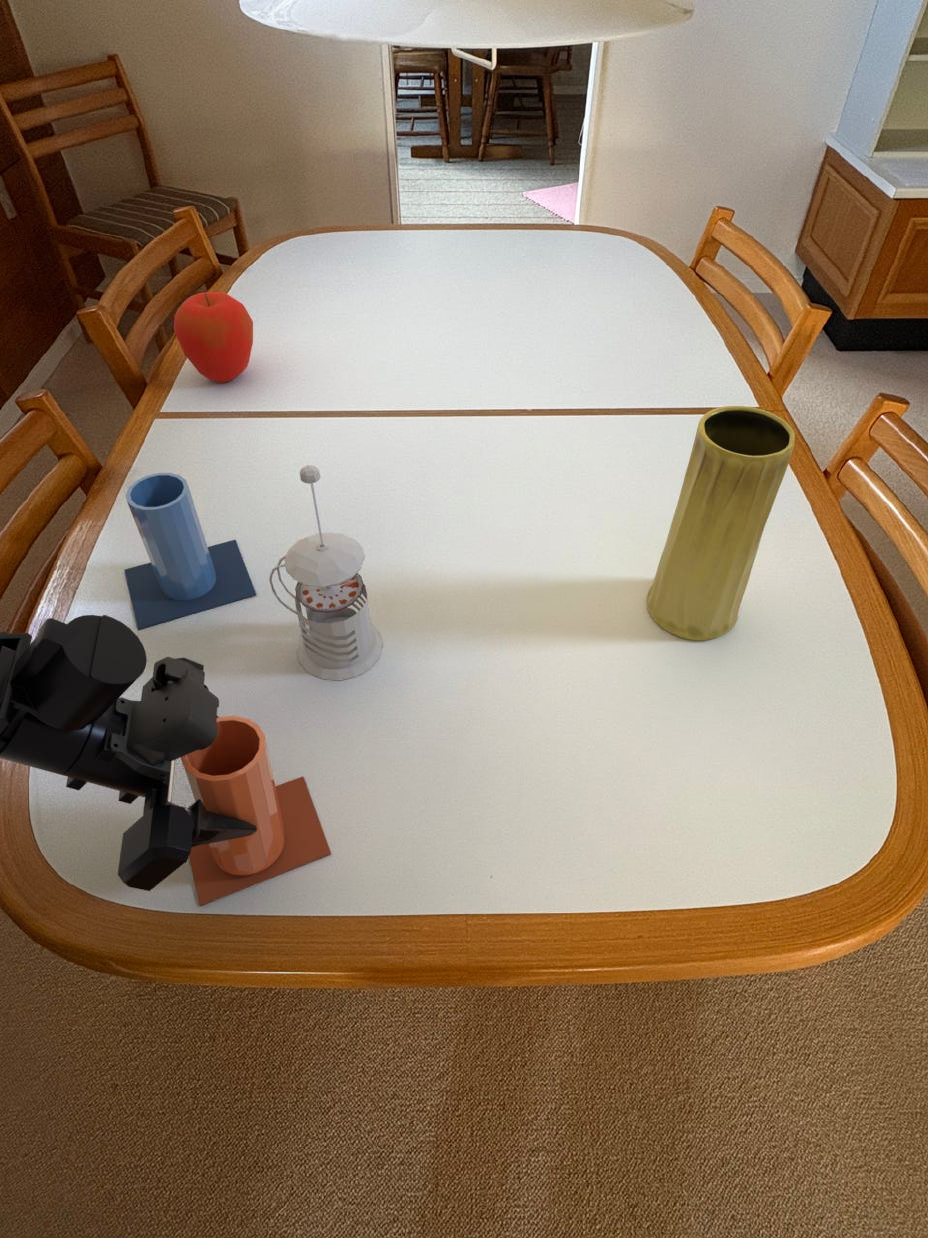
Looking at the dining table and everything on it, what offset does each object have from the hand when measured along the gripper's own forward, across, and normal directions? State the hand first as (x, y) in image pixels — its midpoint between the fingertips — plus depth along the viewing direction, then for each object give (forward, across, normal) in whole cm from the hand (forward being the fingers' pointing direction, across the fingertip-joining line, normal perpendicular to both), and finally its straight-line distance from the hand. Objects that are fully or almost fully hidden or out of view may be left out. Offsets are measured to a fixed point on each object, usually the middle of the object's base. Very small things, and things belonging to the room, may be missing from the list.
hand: (254, 792), depth 68 cm
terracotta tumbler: (+4, -1, +6) cm, 8 cm away
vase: (+41, +22, -30) cm, 55 cm away
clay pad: (+4, 0, +7) cm, 8 cm away
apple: (+1, +85, +11) cm, 86 cm away
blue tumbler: (-1, +36, +12) cm, 38 cm away
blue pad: (-1, +36, +12) cm, 38 cm away
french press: (+11, +23, +1) cm, 25 cm away
